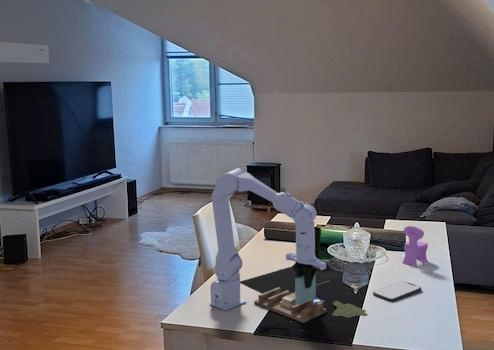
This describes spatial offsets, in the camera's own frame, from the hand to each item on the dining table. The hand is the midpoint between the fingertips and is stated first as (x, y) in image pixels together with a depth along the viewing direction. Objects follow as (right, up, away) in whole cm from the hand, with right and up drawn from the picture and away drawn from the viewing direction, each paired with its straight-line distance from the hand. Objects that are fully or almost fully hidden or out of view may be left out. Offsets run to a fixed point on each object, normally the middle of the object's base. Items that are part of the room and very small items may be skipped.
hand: (305, 286), depth 179 cm
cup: (+8, +1, +54) cm, 55 cm away
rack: (-5, -8, +6) cm, 11 cm away
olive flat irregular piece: (+14, -9, 0) cm, 17 cm away
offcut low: (-4, -7, +6) cm, 10 cm away
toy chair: (+47, 0, +47) cm, 67 cm away
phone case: (+33, -6, +16) cm, 37 cm away
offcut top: (-4, -6, +6) cm, 9 cm away
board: (0, -4, +1) cm, 4 cm away
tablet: (-5, -4, +29) cm, 30 cm away
